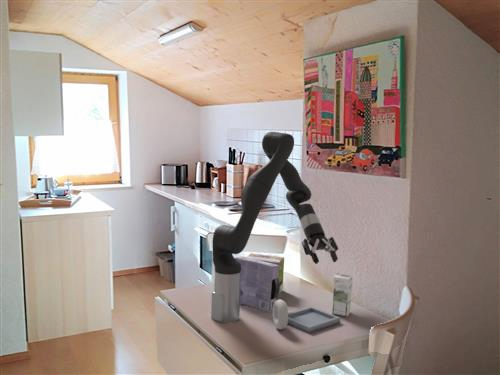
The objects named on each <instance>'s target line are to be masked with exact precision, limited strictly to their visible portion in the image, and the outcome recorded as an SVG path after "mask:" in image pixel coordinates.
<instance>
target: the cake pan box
mask: <svg viewBox="0 0 500 375" xmlns="http://www.w3.org/2000/svg"><path fill="white" fill-rule="evenodd" d="M234 258H235V259H236V260H237V261H238V262H240V264H241V284H240V305H244V306H247V307H250V308H254V309H258V310H262V311H265V312H269V313H271V312H273V306H274V303H275V302H276V301H277V300H278V296H279V295H280V294H279V290H280V283H279V278H278V277H279V265H276V264H272V263H267V262H264V261H260V260H255V259H251V258H247V256H240V255H239V256H236V257H234ZM278 294H279V295H278Z"/></svg>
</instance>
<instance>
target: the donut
mask: <svg viewBox="0 0 500 375" xmlns="http://www.w3.org/2000/svg"><path fill="white" fill-rule="evenodd" d="M288 313H289V309H288V306H287V303H286V301H284V300H283V299H277V301H276V302H275V303H274V306H273V311H272V319H273V323H274V326H275V327H276V328H277V330H280V331H281V330H284V329H286V327H287V326H288V324H287V323H288Z"/></svg>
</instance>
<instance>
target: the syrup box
mask: <svg viewBox="0 0 500 375" xmlns="http://www.w3.org/2000/svg"><path fill="white" fill-rule="evenodd" d="M333 277H334V278H333V292H332V294H333V295H332V312H331V314H332V315H335V316H340V317H341V316H342V317H348V316H349V315H350V314H351V309H352V308H351V305H352V290H353V288H352V287H353V275H351V274H345V273H337V274H335V275H334V276H333Z"/></svg>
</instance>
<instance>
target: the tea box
mask: <svg viewBox="0 0 500 375" xmlns="http://www.w3.org/2000/svg"><path fill="white" fill-rule="evenodd" d="M246 257H247V258H251V259H255V260H260V261H264V262H267V263H272V264H276V265H279V277H278V278H279V283H280V290H279V294H278V296H279V295H280V294H281V293H282V291H283V290H284V289H283V287H284V274H285V273H284V272H285V271H284V268H285V256H276V255H266V254H261V253H260V254H259V253H252V252H251V253H250V254H249V255H247V256H246Z"/></svg>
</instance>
